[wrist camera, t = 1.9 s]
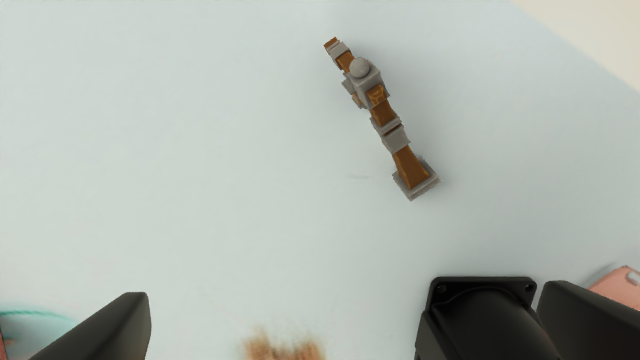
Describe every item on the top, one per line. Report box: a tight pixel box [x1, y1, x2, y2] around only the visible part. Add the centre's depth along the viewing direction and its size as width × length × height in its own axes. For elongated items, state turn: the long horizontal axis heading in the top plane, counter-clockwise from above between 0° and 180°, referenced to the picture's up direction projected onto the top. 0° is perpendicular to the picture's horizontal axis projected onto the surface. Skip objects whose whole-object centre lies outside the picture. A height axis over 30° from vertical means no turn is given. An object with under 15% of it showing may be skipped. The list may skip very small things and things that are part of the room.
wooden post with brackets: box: [324, 37, 442, 202], centre depth 17 cm, size 2×8×4 cm, turn 34°
